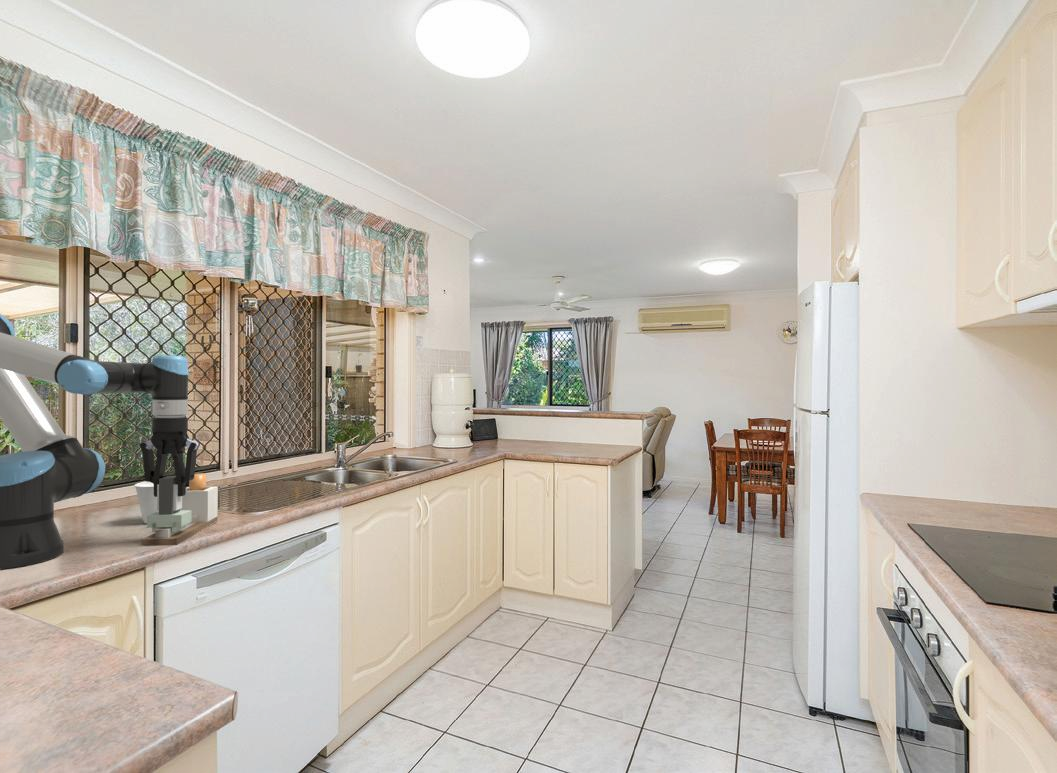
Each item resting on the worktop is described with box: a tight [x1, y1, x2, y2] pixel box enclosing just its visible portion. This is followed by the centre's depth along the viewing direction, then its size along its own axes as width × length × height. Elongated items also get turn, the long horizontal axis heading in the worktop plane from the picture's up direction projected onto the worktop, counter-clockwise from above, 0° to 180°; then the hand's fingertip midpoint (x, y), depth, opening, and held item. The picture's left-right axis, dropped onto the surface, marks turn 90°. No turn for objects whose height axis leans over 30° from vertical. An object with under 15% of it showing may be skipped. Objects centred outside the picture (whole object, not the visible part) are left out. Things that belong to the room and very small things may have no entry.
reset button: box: [189, 473, 207, 491], centre depth 150 cm, size 4×4×5 cm
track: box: [141, 515, 218, 546], centre depth 142 cm, size 8×22×4 cm, turn 7°
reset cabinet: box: [180, 486, 219, 522], centre depth 150 cm, size 8×6×8 cm
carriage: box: [146, 475, 192, 533], centre depth 135 cm, size 8×5×13 cm, turn 97°
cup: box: [134, 481, 157, 524], centre depth 152 cm, size 10×10×11 cm
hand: (169, 509), depth 135 cm, fingers closed on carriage, 3 cm apart
